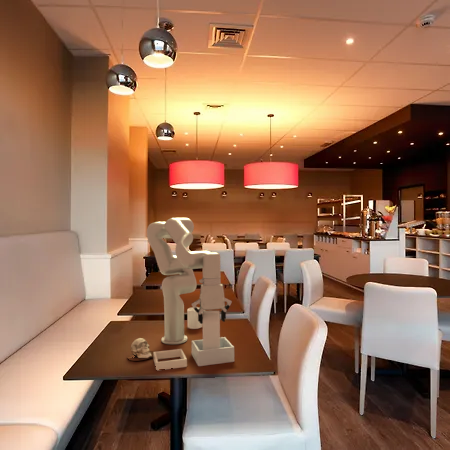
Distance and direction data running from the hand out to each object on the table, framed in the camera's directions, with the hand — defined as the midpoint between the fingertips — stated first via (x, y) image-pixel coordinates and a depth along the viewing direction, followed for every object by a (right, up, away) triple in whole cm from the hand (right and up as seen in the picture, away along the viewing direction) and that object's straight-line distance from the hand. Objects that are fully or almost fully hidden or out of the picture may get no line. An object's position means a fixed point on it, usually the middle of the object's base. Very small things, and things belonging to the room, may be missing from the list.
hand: (212, 321), depth 149 cm
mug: (-9, -15, +44) cm, 48 cm away
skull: (-31, -16, +3) cm, 35 cm away
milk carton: (0, -15, 0) cm, 15 cm away
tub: (0, -15, 0) cm, 15 cm away
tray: (-17, -16, -5) cm, 24 cm away
